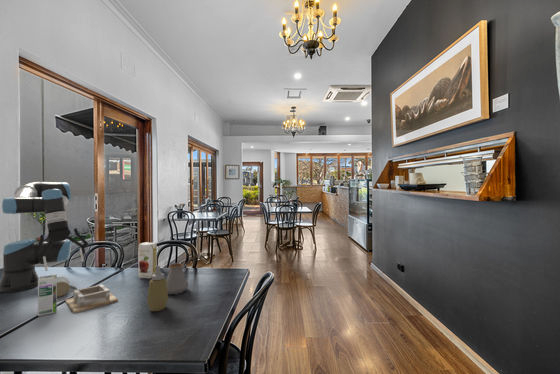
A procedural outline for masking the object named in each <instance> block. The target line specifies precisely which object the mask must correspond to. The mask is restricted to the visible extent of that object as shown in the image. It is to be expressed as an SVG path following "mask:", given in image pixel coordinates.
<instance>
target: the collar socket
mask: <svg viewBox="0 0 560 374" xmlns="http://www.w3.org/2000/svg"><path fill="white" fill-rule="evenodd" d="M110 291H111V290H110V289H109V288H108V287H107V286H106V285H104V284H103V283H101V284H98V285H93V286H89V287H84V288H78V290H74V293H73V297H70V298H67V299H65V304H66V305H67V306H68V308H69V309H70V310H71V311H72V313H73V314H76V313H81V312H84V311H87V310H91V309H95V308H99V307H103V306H106V305H110V304H113V303H117V302H118V301H119V298H117V297H116V296H115V295H114V294H112V293H111V292H110Z"/></svg>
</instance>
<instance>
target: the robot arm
mask: <svg viewBox="0 0 560 374" xmlns="http://www.w3.org/2000/svg"><path fill="white" fill-rule="evenodd" d="M71 199H72V192H71V186H70V184H69V183H68V182H63V181H59V182H58V181H34V182H28V183H24V184H22V185H19V186H18V187H17V188H16V189H15V191H14V196H13V197H5V198H3V199H2V205H1V207H2V213H3V214H6V215H9V214H11V215H15V214H37V213H38V214H41V213H45V214H44V215H45V230H44V231H45V232H44V233H45V234H40V237H39V238H40V239H39V240H38V241H36V239H35V238H26V239H20V240H15V241H13V242H9V243H7V244H5V245H4V247H3V252H2V256H3V257H2V258H3V262H2V263H3V266H2V267H3V274H2V276H1V278H0V293H2V292H3V294H4V293H15V292H16V293H17V292H22V291H27V290H30V289H33V288H36V287H38V279H39V277H40V276H38V273H37V271H36V265H43V267H44V270H45V272H48V270H49V269H48V264H49V263H50V264H51V263H60V262H63V261H64V262H65V261H67V260H69V259H70V257H71V252H72V251H71V249H72V243H73V244H75V245H77V246H78V247H80V248H79V253H80V260H81V262H85V261H84V254H85V255H86V249H85V248H86V247H87V246H89V243H88V241H87V240H86V239H85V238H84V237H83V236H82V235H81V234H80V233H79V232H78V229H77V228H73V229H70V228H69V224H68V221H67V212H66V205H67V204H68V202H70V201H71ZM71 233H72V234H73V235H75V236H76V237H77V238H78V239H79V240H80V241H81V242H79V241H77V240H76V239H74V238H73V237H72V236H70V234H71ZM82 243H83V244H82Z"/></svg>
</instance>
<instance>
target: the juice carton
mask: <svg viewBox="0 0 560 374" xmlns="http://www.w3.org/2000/svg"><path fill="white" fill-rule="evenodd" d="M157 244H158V243H157V242H148V241H145V242H142V243H141V242H140V243H138V249H137V250H138V253H137V255H138V259H137V260H138V263H137V264H138V267H137V268H138V270H137V271H138V278H139V279H150V280H151V279H152V275H153V274H155V271H156V266H158V246H157Z"/></svg>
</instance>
